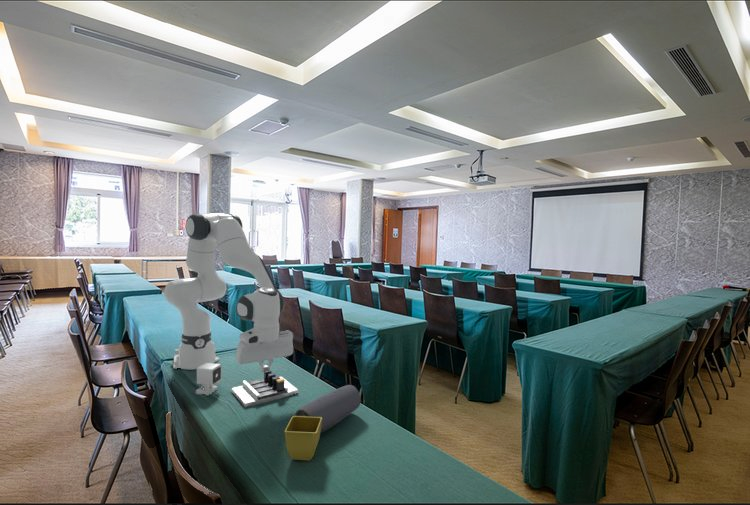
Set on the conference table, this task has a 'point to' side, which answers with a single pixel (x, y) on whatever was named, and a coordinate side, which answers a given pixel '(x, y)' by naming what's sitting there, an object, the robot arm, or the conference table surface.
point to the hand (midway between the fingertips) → (265, 370)
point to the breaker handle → (280, 384)
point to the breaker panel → (262, 390)
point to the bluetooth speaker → (332, 406)
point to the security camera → (208, 377)
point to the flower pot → (302, 436)
